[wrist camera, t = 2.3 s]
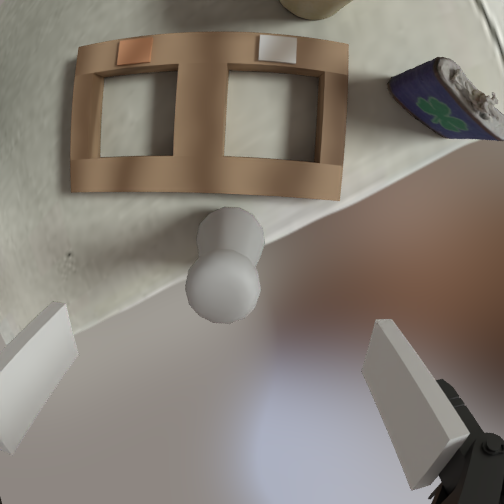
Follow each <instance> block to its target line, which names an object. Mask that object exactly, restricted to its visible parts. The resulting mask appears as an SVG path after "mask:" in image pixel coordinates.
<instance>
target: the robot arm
mask: <svg viewBox="0 0 504 504" xmlns="http://www.w3.org/2000/svg"><path fill="white" fill-rule="evenodd" d="M77 356H78V350H77V347H76V343H75V339H74V335H73V331H72V327H71V323H70V319H69V315H68V310H67V306H66V303H61V302H54V301H53V302H52V303H50V304H49V305H48V306H47V307H46V308H45V309H44V310H43V311H42V312H41V313H40V314H39V315H37V316H36V317H35V318H34V319H33V320H32V321H31V322H30V323H29V324H28V325H27V326H26V327H25V328H24V329H23V330H22V331H21V332H20V333H19V334H18V335H17V336H16V337H15V338H14V339H13V340H12V341H11V342H10V343H9V344H8V345H7V346H6V347H5V348H4V349H3V350H2V351H1V352H0V450H1V451H4V452H6V453H7V454H9V455H11V456H13V454H14V452H15V451H16V449H17V447H18V446H19V444H20V442H21V440H22V439H23V437H24V436H25V434H26V432H27V431H28V429H29V428H30V426H31V425H32V423H33V421H34V420H35V418H36V417H37V415H38V414H39V412H40V410H41V409H42V407H43V406H44V404H45V403H46V401H47V400H48V398H49V397H50V395H51V394H52V392H53V391H54V389H55V388H56V386H57V385H58V383H59V382H60V380H61V379H62V377H63V376H64V375H65V373H66V372H67V370H68V369H69V367H70V366H71V365H72V363H73V362H74V360H75V358H76V357H77ZM361 372H362V374H363V376H364V378H365V380H366V383H367V385H368V387H369V389H370V392H371V394H372V396H373V398H374V401H375V403H376V405H377V408H378V410H379V412H380V415H381V417H382V419H383V422H384V424H385V426H386V429H387V431H388V434H389V436H390V438H391V441H392V443H393V446H394V448H395V450H396V453H397V456H398V458H399V461H400V463H401V466H402V468H403V471H404V473H405V475H406V478H407V481H408V483H409V486H410V489H411V490H415V489H418V488H422V487H425V486H428V485H431V483H432V482H433V481H434V480H435V479H436V478H437V477H438V475H439V477H440V479H441V481H442V482H441V484H440V485H439V486H438V487H437V488H436V489H435V490H434V491H433V492H432V493H431V495H430V496H429V498H428V499H431V498H432V497H433V496H434V495H435V496H434V499H433V501H432V503H431V504H504V440H503V439H502V438H501V437H500V436H498V435H496V434H494V433H484V432H483V431H482V429H481V428H480V426H479V425H478V423H477V421H476V420H475V418H474V417H473V415H472V414H471V413H470V411H469V410H468V408H467V407H466V406H464V402H463V401H462V399H461V398H459V395H458V394H457V392H456V391H455V389H454V388H453V387H452V386H451V385H450V384H448V383H447V382H446V381H444V380H443V379H440V380H435V379H434V377H433V376H432V374H431V373H430V372H429V370H428V369H427V367H426V366H425V364H424V363H423V362H422V360H421V359H420V357H419V356H418V354H417V353H416V352H415V350H414V349H413V348H412V346H411V345H410V343H409V342H408V341H407V339H406V338H405V336H404V335H403V334H402V332H401V331H400V330H399V328H398V327H397V326H396V324H395V323H394V322H393V320H392V319H381V320H375V324H374V328H373V332H372V336H371V340H370V343H369V347H368V351H367V354H366V358H365V361H364V365H363V368H362V371H361ZM0 504H2V502H1V498H0Z"/></svg>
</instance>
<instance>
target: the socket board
mask: <svg viewBox="0 0 504 504" xmlns="http://www.w3.org/2000/svg"><path fill="white" fill-rule="evenodd" d="M348 48H349V44H345V43H339V42H334V41H328V40H322V39H315V38H308V37H300V36H291V35H281V34H270V33H254V32H185V33H169V34H158V35H148V36H139V37H132V38H125V39H118V40H112V41H106V42H101V43H96V44H91V45H86V46H81V47H79V49H78V56H77V63H76V71H75V79H74V89H73V101H72V116H71V142H70V174H71V193H72V192H195V193H224V194H246V195H265V196H281V197H296V198H310V199H322V200H334V201H340V193H341V183H342V172H343V160H344V147H345V133H346V116H347V94H348ZM229 70H240V71H260V72H274V73H286V74H295V75H304V76H312V77H319V83H318V104H317V123H316V139H315V153H314V162H308V161H296V160H284V159H270V158H253V157H232V156H224V145H225V126H226V108H227V92H228V77H229ZM163 71H178V78H177V91H176V105H175V123H174V145H173V155H159V156H121V157H100V138H101V115H102V100H103V87H104V78H105V77H112V76H120V75H128V74H138V73H149V72H163Z"/></svg>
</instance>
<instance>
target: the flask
mask: <svg viewBox="0 0 504 504" xmlns="http://www.w3.org/2000/svg"><path fill="white" fill-rule="evenodd" d="M388 90H389V92H390V94H391V95H392V96H393V98H394V99H395V100H396V101H397V102H398V103H399V104H400V105H401V106H402V107H403V108H404V109H406V110H407V112H408V113H409V114H410V115H412V116H413V117H415V119H417V120H419V121H421V122H422V123H423V124H424V125H426V126H427V127H429V128H430V129H432V130H433V131H434V132H436V133H437V134H439V135H440V136H443V137H445V138H449V139H482V140H484V139H485V140H497V141H504V115H503V114H502V113H501V112H500V111H499V110H498V109H496V108H495V107H494V104H498V100H497V98H496V96H495V93H494V92H492V95H493V97H492V98H490V96H489V95H488V96H485V94H484V93H482V92H481V91H479V90H478V89H477V88H476V87H475V86H474V85H473V84H472V82H470V81H469V79H468V78H467V77H466V75H465V74H464V73H463V71H462V70H461V68H460V66H458V65H457V64H456V63H455V62H454V61H453V60H451V59H447V58H445V57H437V58H435V59H433V60H431V61H428V62H426V63H423V64H422V65H419V66H416V67H415V68H413V69H409V70H407V71H405V72H404V73H401V74H399V75H396V76H394V77H391V79H390V81H389V82H388Z"/></svg>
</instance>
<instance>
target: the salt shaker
mask: <svg viewBox="0 0 504 504" xmlns="http://www.w3.org/2000/svg"><path fill="white" fill-rule="evenodd" d="M196 240H197V247H198V254H199V258H198V259H197V260H196V262H195V263H194V264H193V265H192V266H191V267H190V269H189V271H188V276H187V280H186V285H185V290H186V294H187V298H188V301H189V305H190V306H191V307H192V308H193V309H194V310H195V312H196V313H198V315H199V316H201V317H203V318H205V319H207V320H209V321H211V322H213V323H227V324H228V323H233V322H235V321H239V320H241V319H244V318H245V317H246V316H247V315H248V314H249V313H250V312H251V311H252V310H253V309H254V308H255V305H256V302H257V300H258V297H259V294H260V291H261V287H260V282H259V276H258V271H257V269H256V268H255V267H256V265H257V263H258V260H259V258H260V256H261V253H262V250H263V247H264V244H265V240H264V233H263V228H262V226H261V225H260V224H259V222H258V221H257V219H256V218H255V216H254V215H253V214H251V213H249V212H247V211H245V210H243V209H241V208H237V207H223V208H220V209H218V210H216V211H214V212H211V213H210V214H209V215H208V216H207V217H206V218H205V219H204V220H203V221H202V222H201V223H200V225H199V229H198V234H197V238H196Z"/></svg>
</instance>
